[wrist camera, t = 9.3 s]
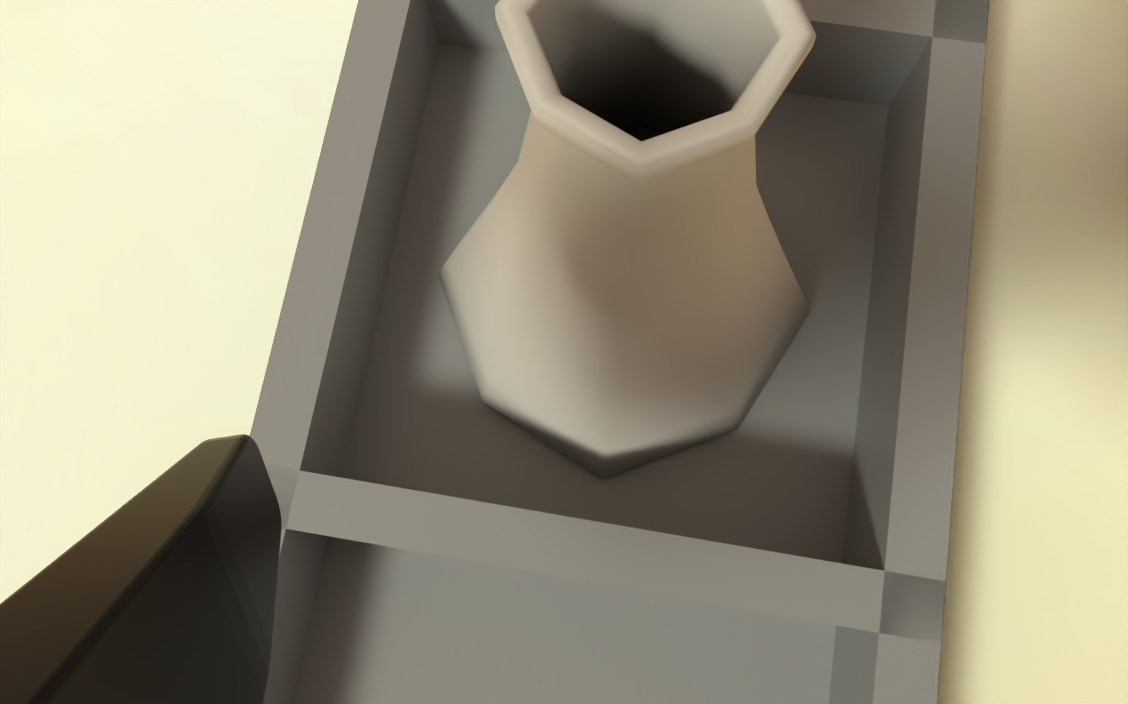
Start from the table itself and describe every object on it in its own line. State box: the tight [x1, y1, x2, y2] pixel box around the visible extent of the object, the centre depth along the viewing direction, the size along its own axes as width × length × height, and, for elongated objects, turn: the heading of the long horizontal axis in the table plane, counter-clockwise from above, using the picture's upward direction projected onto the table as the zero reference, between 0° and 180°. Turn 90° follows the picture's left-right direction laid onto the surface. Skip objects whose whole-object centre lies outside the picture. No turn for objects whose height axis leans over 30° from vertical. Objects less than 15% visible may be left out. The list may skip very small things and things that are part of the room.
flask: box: [438, 0, 816, 479], centre depth 15 cm, size 7×7×10 cm
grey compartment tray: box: [250, 0, 989, 704], centre depth 17 cm, size 23×12×4 cm, turn 170°
